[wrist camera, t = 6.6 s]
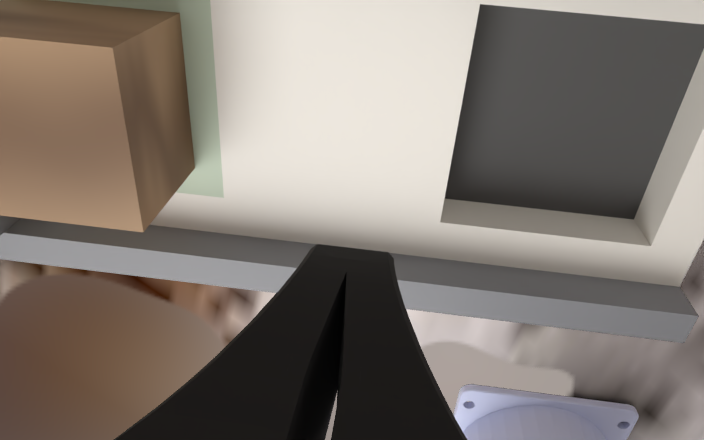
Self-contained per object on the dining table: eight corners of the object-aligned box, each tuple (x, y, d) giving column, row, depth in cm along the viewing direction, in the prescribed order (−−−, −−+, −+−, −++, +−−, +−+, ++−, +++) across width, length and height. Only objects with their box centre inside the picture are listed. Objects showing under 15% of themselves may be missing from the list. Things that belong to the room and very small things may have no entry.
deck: (639, 294, 21) (680, 371, 18) (57, 225, 23) (-6, 284, 19) (830, -124, 14) (962, -127, 10) (-54, -190, 15) (-190, -212, 12)
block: (195, 167, 18) (143, 232, 15) (52, 152, 18) (-30, 211, 15) (179, 12, 15) (112, 48, 12) (13, -3, 16) (-98, 26, 12)
